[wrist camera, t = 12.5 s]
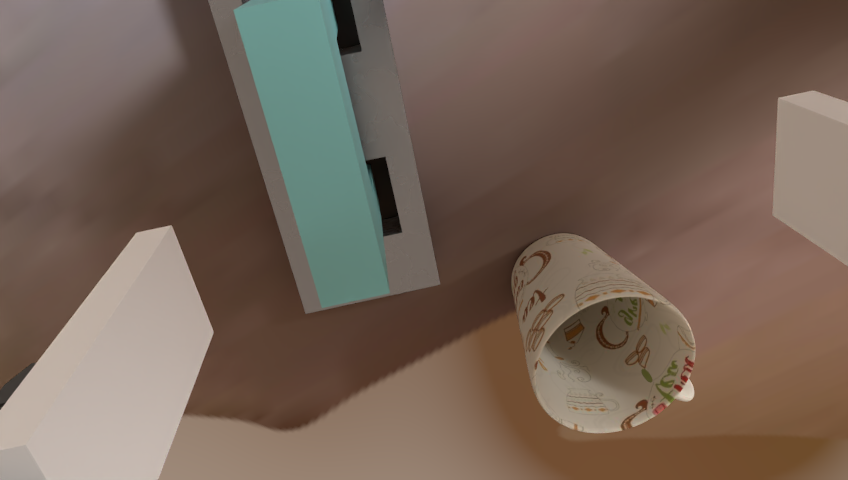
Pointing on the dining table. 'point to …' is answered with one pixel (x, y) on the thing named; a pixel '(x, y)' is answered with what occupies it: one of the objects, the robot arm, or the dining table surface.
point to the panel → (317, 144)
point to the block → (379, 136)
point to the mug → (598, 337)
